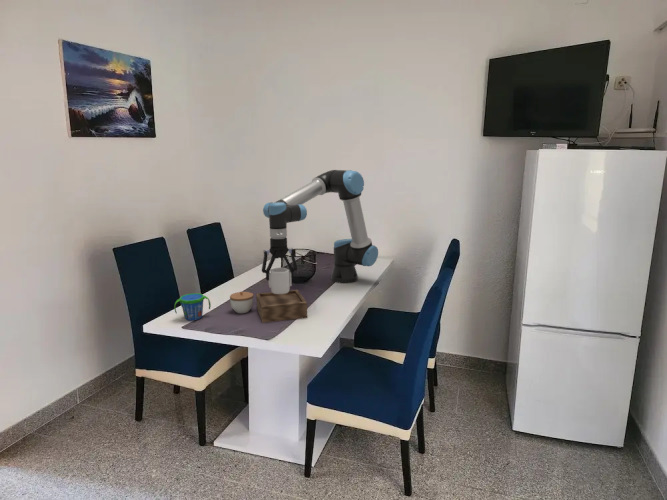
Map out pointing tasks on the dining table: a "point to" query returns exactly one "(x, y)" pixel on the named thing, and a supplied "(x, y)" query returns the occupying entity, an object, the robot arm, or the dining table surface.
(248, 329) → the dining table surface
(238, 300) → the lidded jar
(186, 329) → the dining table surface
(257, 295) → the walnut box
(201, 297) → the snack cup
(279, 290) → the mug
